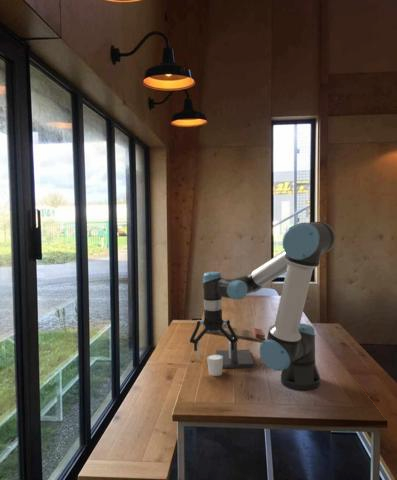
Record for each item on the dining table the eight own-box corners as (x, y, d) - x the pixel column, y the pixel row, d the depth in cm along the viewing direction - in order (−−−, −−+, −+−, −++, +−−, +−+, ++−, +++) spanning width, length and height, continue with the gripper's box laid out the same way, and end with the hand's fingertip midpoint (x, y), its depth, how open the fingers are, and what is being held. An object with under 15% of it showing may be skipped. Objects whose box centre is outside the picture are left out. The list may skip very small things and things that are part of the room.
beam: (260, 338, 186) (262, 328, 185) (264, 345, 175) (266, 336, 174) (202, 328, 186) (204, 319, 185) (202, 335, 175) (204, 325, 174)
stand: (249, 352, 190) (248, 325, 189) (254, 366, 172) (253, 337, 171) (216, 353, 190) (214, 327, 189) (217, 368, 172) (216, 339, 171)
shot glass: (214, 368, 172) (213, 353, 171) (226, 372, 167) (226, 356, 167) (204, 374, 166) (203, 357, 166) (217, 377, 162) (216, 361, 162)
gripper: (241, 305, 169) (242, 353, 170) (183, 307, 169) (185, 355, 171) (243, 310, 161) (244, 360, 163) (182, 311, 161) (184, 361, 163)
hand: (214, 357), depth 167 cm, fingers open, 13 cm apart
